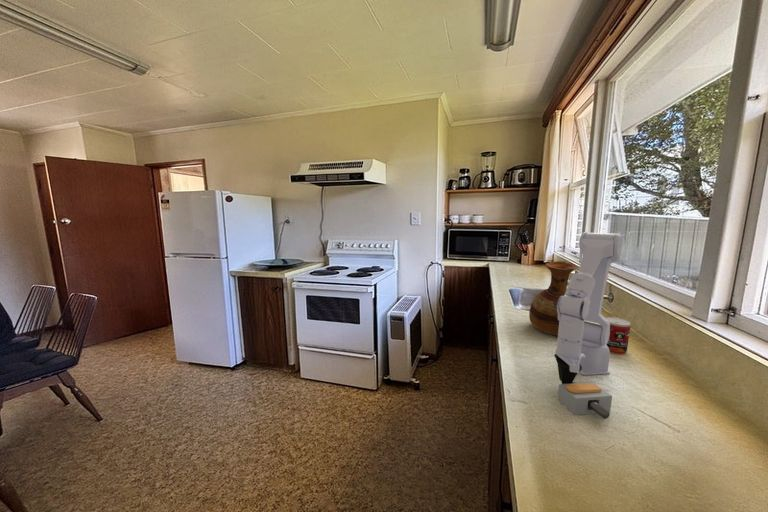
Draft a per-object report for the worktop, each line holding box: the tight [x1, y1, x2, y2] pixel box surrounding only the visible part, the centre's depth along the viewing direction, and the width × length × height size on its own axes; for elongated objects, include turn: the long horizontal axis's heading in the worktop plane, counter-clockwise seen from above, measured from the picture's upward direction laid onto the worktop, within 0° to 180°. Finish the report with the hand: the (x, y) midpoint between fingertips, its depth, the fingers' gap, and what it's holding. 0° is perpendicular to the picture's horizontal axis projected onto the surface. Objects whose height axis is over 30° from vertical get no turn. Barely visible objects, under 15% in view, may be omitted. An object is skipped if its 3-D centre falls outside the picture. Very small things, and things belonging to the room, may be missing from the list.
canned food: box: [605, 316, 631, 355], centre depth 108 cm, size 8×8×11 cm
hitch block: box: [556, 381, 613, 416], centre depth 77 cm, size 10×6×5 cm, turn 96°
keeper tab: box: [567, 382, 603, 393], centre depth 76 cm, size 8×3×1 cm, turn 96°
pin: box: [569, 381, 610, 420], centre depth 75 cm, size 11×3×3 cm, turn 6°
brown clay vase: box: [528, 260, 577, 336], centre depth 124 cm, size 20×20×30 cm
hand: (565, 383), depth 83 cm, fingers closed
